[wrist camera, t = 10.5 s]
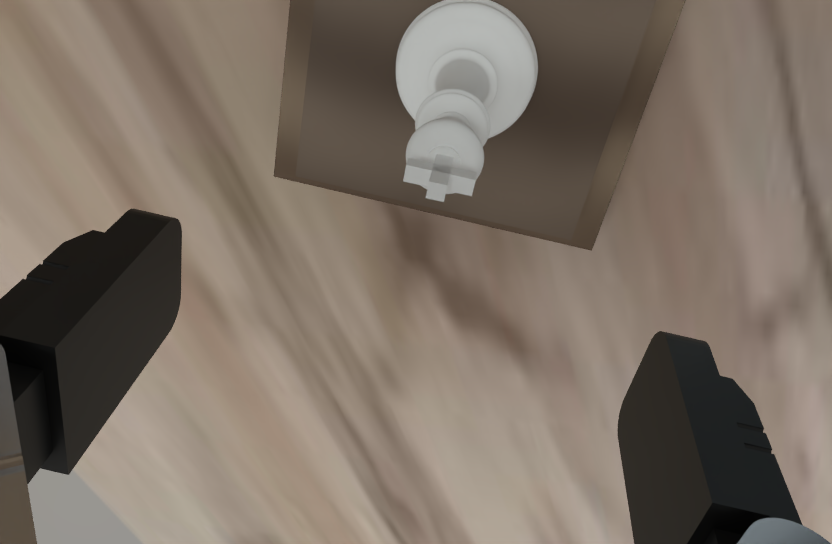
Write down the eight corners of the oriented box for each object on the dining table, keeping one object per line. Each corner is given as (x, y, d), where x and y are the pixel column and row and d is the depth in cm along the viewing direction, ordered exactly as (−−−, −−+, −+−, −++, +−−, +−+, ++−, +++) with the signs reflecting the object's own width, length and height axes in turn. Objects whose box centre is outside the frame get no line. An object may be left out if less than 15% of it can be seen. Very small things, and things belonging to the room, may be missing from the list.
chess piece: (517, 150, 26) (514, 300, 18) (386, 122, 26) (321, 258, 18) (554, 13, 24) (571, 113, 15) (408, -18, 24) (344, 64, 15)
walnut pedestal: (330, -203, 26) (288, -212, 22) (707, -118, 26) (747, -108, 21) (292, 150, 34) (255, 201, 29) (586, 218, 33) (596, 281, 29)
